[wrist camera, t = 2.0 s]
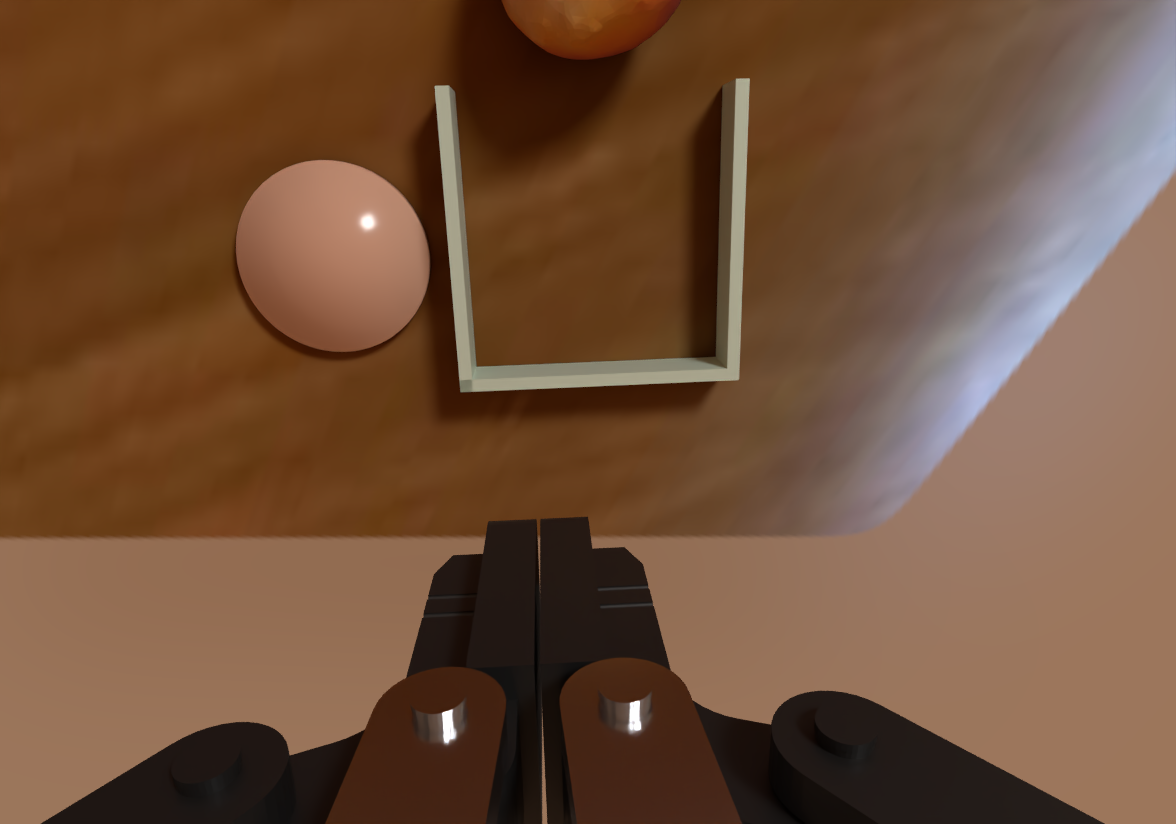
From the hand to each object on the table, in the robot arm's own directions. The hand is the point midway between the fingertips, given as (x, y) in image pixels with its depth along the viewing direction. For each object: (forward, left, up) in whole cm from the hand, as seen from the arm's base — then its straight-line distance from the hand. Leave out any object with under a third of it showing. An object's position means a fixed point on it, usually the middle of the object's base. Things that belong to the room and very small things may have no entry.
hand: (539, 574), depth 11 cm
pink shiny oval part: (-10, +2, -27) cm, 29 cm away
